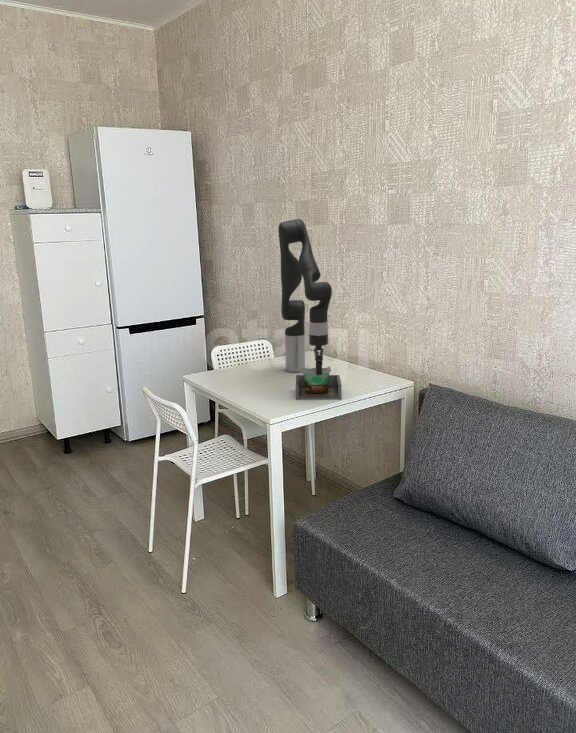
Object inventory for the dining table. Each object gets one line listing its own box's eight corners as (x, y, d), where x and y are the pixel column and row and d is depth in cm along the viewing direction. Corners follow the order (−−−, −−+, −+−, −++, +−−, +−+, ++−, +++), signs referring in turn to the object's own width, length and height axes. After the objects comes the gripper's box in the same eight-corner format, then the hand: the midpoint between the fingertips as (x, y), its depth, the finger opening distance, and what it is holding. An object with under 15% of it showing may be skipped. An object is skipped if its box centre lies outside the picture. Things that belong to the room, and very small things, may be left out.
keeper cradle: (296, 389, 253) (296, 375, 252) (339, 388, 253) (339, 374, 251) (295, 399, 239) (295, 384, 237) (341, 399, 238) (341, 384, 237)
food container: (305, 394, 239) (304, 369, 237) (301, 391, 245) (301, 367, 243) (335, 392, 242) (334, 367, 240) (330, 389, 248) (330, 365, 246)
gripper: (308, 329, 246) (309, 367, 250) (309, 336, 232) (309, 376, 236) (327, 329, 245) (327, 367, 250) (328, 336, 232) (328, 376, 236)
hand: (318, 372), depth 243 cm, fingers open, 8 cm apart
